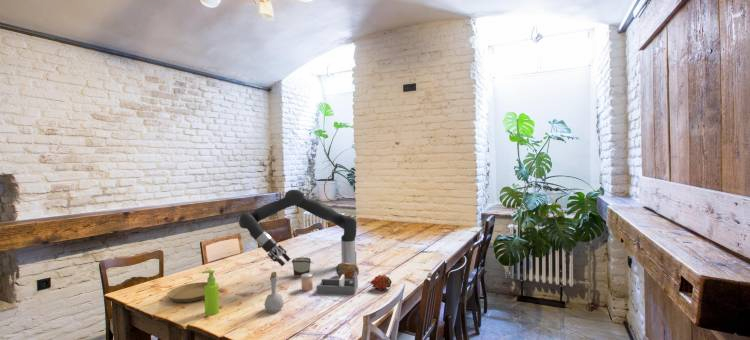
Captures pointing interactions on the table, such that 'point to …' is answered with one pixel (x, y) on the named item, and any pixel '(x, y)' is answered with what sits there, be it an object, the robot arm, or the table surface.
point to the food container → (301, 266)
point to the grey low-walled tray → (333, 286)
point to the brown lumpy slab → (347, 270)
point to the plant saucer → (188, 292)
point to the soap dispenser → (211, 294)
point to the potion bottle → (273, 297)
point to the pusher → (341, 281)
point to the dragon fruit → (381, 282)
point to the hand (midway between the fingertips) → (286, 262)
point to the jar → (307, 281)
